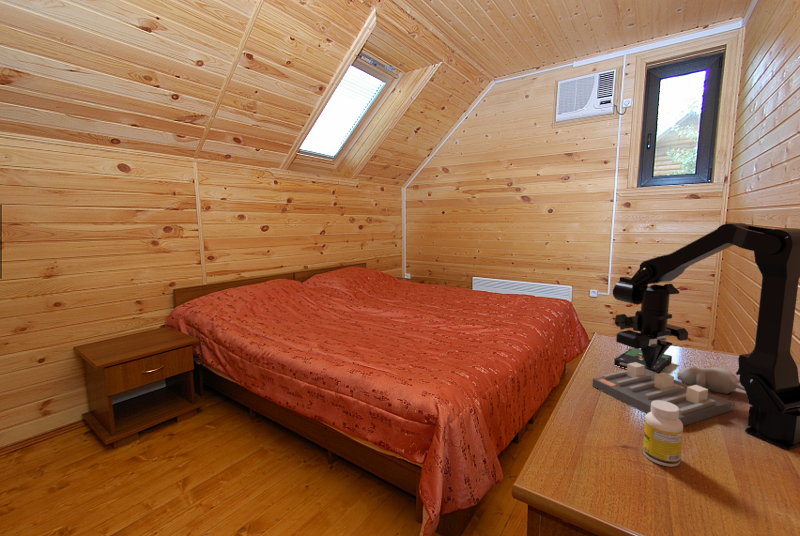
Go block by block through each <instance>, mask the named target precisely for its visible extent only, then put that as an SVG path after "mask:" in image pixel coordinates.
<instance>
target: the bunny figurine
mask: <svg viewBox="0 0 800 536" xmlns="http://www.w3.org/2000/svg"><path fill="white" fill-rule="evenodd" d="M677 380H678V381H679V380H680V382H682V383H684V384H687V385H689V386H693V385H698V386H701V387H703V388H706V389H708V391H709V390H710V391H712V392H714V393H720V394H725V395H728V394H729V393H732V392H733V391H734V390H737V389H739V390H741V391H745V388H744V387H743V386H742V385H741V383H740V379H739V377H737V376H736V374H734V373H733V372H732V371H731V370H730V369H729V368H728V369H727V368H723V367H717V366H713V367H708V368H707V367H700V368H699V367H697V366H695V365H690V366H687V367H684V368H683V369H681V368H680V369H679V371H678V372H677ZM745 392H746V391H745Z"/></svg>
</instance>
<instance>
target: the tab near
mask: <svg viewBox="0 0 800 536" xmlns="http://www.w3.org/2000/svg"><path fill="white" fill-rule="evenodd" d="M708 393H709V389H707V388H703V387H701V386H698V385H693V386H689V387H687V393H686V400H687V401H689V402H692V403H694V404H697V403H700V402H704V401H707V396H708Z"/></svg>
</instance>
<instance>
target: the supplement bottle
mask: <svg viewBox="0 0 800 536" xmlns="http://www.w3.org/2000/svg"><path fill="white" fill-rule="evenodd" d="M645 414H646V415H645V418H644V427H643V428H644V429H643V430H644V431H643V432H644V433H643V446H642V447H643V448H642V451H643V452H642V453H643V454H644V457H646V458H647V459H648V460H650V461H651V462H653V463H655V464H658V465H660V466H665V467H671V468H672V467H678V466H679V465H680V463H681V460H682V445H683V444H682V443H683V433H684V426H683V424H682V422H681V420H680V419H678V417H679V408H678V407H677V406H676V405H674V404H672V403H670V402H667V401H661V400H655V401H652V402H651V412H649V413H645Z"/></svg>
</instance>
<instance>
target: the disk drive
mask: <svg viewBox="0 0 800 536" xmlns="http://www.w3.org/2000/svg"><path fill="white" fill-rule="evenodd" d="M672 361H673V356H672V355H669V354H665V353H664V354H663V355H662V356H661V358H660V359H659V360H658V362H657V363H656V364H655V366H654V367H653V368H648V367H647V366H646V363H645V360H644V357H643V354H642V351H641V349H636V348H633V347H631V348H629V349H628V350H627V351H625V352H624V353H621V354H620V355H618V356H617V357H615V358H614V363H613V365H617V366H620V367H624V368H627V364H629V363H634V362H637V363H639V364H642V365H645V369H648V370H650V371H653V372H656V373H658V374H660V373H663V372H664V370H665V369H666V368H668V367H669V366H671V364H672ZM620 367H619V368H620Z"/></svg>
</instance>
